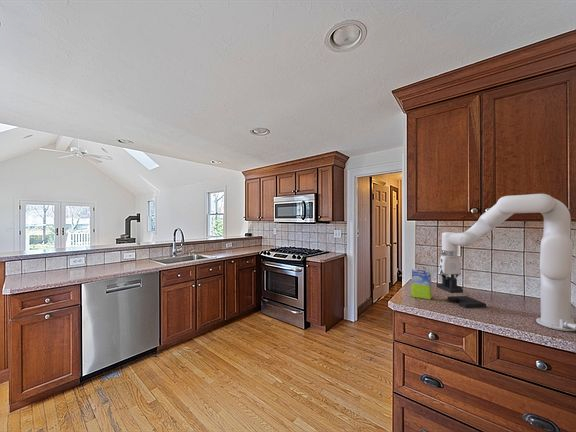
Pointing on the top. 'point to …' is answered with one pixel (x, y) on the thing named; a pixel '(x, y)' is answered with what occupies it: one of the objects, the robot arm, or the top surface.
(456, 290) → the pad
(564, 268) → the robot arm
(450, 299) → the base pad
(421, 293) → the box
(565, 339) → the top surface
